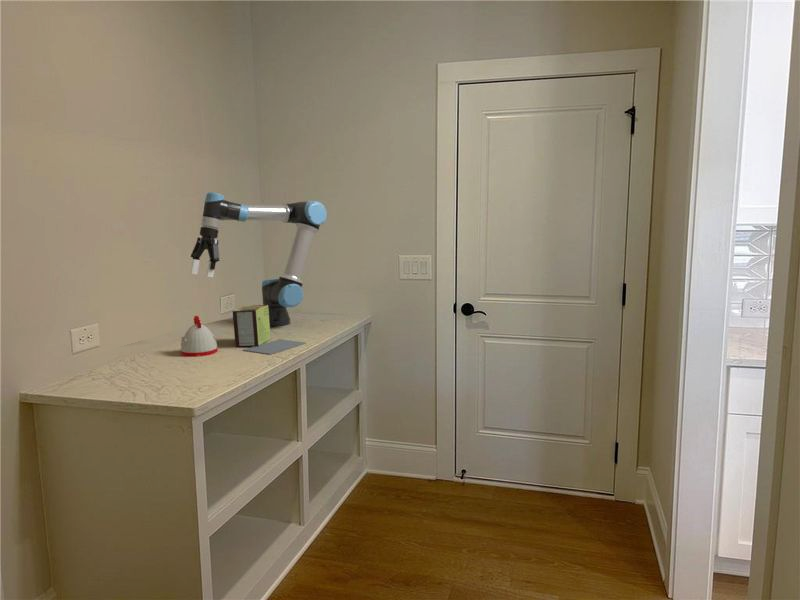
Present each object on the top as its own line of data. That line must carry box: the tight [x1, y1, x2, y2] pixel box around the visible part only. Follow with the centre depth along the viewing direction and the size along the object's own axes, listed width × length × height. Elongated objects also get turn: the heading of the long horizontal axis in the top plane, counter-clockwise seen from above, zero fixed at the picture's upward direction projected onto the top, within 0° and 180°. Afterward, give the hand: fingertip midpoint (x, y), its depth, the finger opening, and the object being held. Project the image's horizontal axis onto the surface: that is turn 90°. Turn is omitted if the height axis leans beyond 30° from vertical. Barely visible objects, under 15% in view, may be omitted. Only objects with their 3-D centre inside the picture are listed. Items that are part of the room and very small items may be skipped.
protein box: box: [232, 304, 271, 347], centre depth 233 cm, size 10×15×16 cm
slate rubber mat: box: [242, 338, 307, 356], centre depth 226 cm, size 22×15×1 cm
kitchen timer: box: [180, 315, 218, 358], centre depth 218 cm, size 14×14×15 cm
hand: (201, 275), depth 237 cm, fingers open, 13 cm apart
